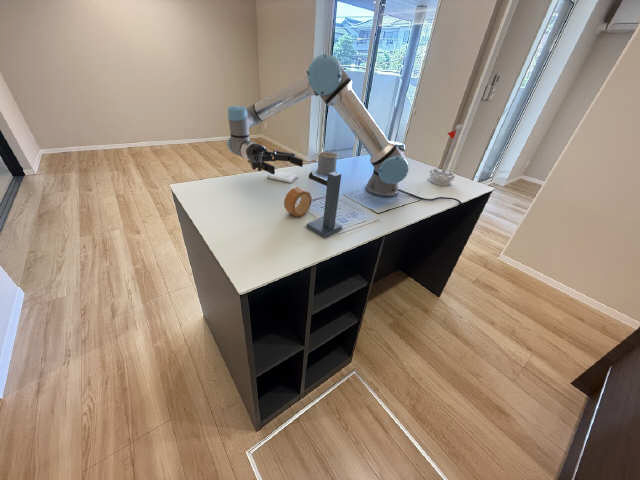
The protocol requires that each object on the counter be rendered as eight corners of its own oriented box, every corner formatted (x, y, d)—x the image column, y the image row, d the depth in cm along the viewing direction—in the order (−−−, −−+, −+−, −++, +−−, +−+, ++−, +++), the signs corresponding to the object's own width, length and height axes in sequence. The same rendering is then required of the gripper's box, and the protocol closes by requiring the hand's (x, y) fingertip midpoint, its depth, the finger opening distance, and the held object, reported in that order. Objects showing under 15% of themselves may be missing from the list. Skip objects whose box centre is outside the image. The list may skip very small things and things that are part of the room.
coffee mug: (326, 176, 133) (328, 158, 128) (313, 171, 139) (315, 153, 133) (342, 172, 142) (345, 154, 136) (330, 167, 147) (332, 149, 141)
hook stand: (324, 238, 85) (331, 179, 73) (299, 222, 92) (301, 167, 80) (341, 229, 91) (349, 173, 79) (315, 215, 98) (320, 162, 86)
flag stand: (456, 183, 141) (479, 126, 124) (443, 188, 134) (466, 128, 117) (435, 176, 149) (454, 121, 132) (422, 179, 142) (441, 122, 125)
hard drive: (275, 173, 132) (296, 178, 129) (267, 178, 125) (290, 183, 122) (275, 170, 131) (297, 175, 128) (267, 175, 124) (290, 180, 121)
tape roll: (302, 207, 102) (303, 184, 97) (310, 211, 100) (312, 188, 94) (284, 215, 96) (284, 191, 90) (292, 220, 94) (292, 195, 88)
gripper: (278, 156, 113) (311, 170, 101) (228, 167, 97) (261, 184, 86) (278, 139, 108) (312, 151, 97) (225, 147, 93) (259, 162, 81)
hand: (288, 166), depth 91 cm, fingers open, 13 cm apart
